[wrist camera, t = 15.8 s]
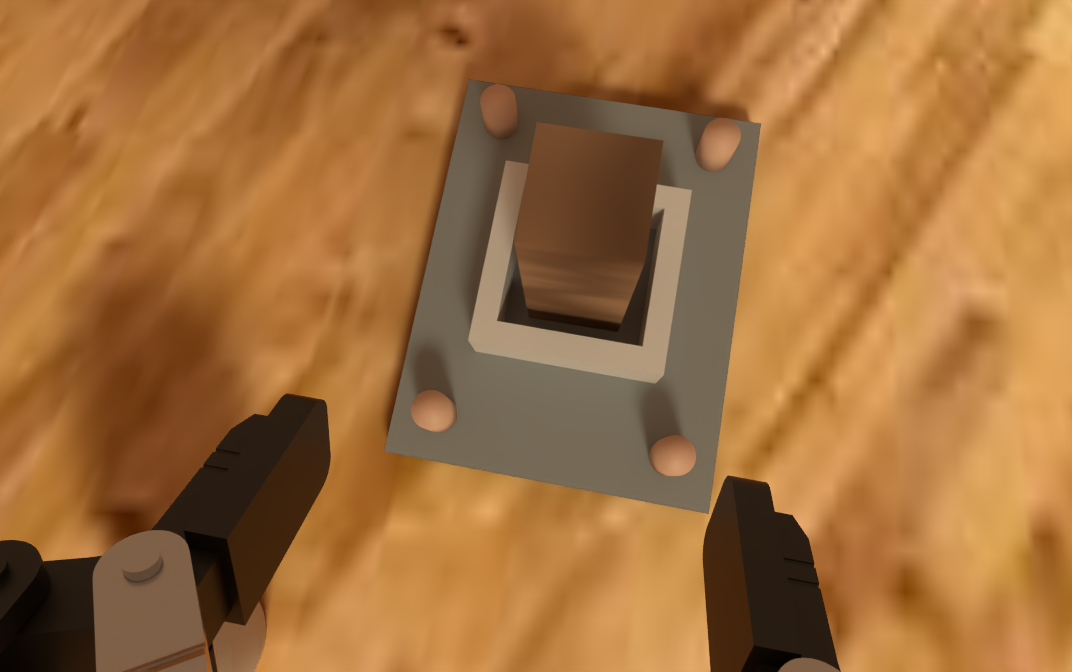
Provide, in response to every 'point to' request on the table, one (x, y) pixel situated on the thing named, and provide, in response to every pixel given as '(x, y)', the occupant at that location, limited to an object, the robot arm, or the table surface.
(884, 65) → the table surface
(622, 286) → the brown block
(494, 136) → the housing plate
